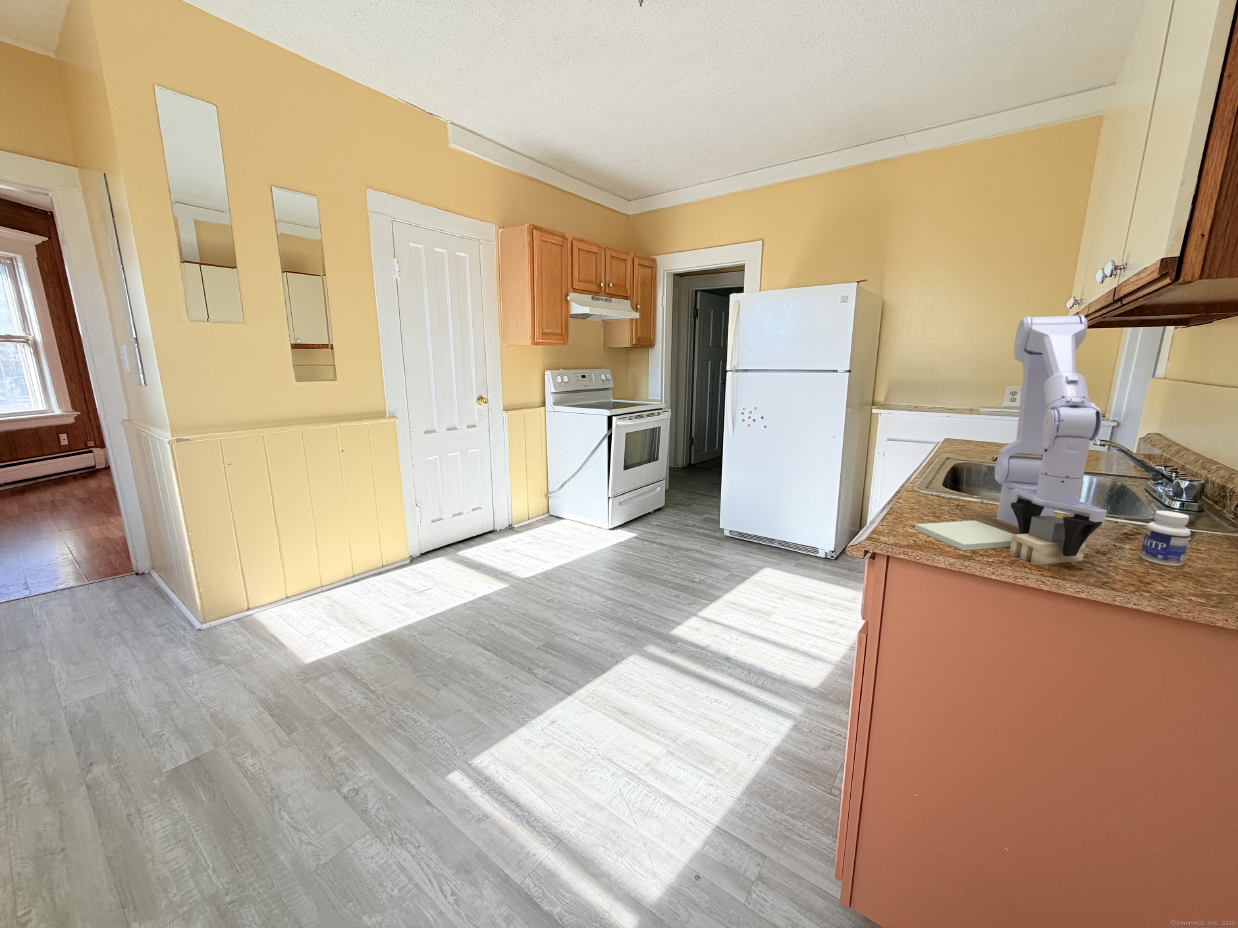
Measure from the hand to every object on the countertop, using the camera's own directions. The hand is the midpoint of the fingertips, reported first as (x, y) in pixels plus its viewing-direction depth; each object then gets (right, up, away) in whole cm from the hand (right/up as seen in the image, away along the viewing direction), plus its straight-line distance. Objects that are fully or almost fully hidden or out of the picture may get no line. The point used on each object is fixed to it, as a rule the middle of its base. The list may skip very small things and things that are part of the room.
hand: (1047, 547), depth 89 cm
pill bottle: (+20, -2, -1) cm, 20 cm away
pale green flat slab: (-6, 0, +11) cm, 12 cm away
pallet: (0, -2, 0) cm, 2 cm away
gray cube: (0, +2, 0) cm, 2 cm away
